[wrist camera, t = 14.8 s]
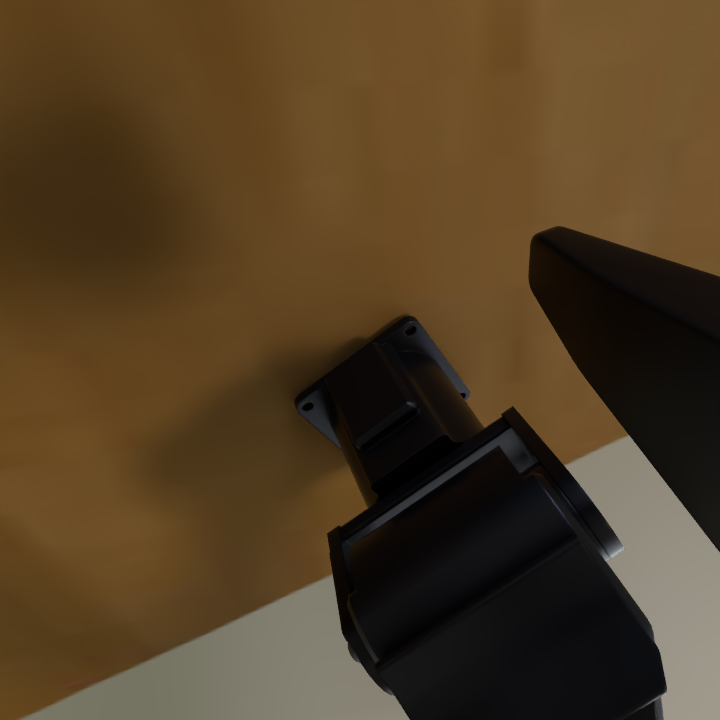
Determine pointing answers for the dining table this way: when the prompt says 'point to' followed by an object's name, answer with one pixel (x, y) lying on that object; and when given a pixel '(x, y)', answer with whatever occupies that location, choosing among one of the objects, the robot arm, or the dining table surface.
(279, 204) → the dining table surface
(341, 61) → the dining table surface
